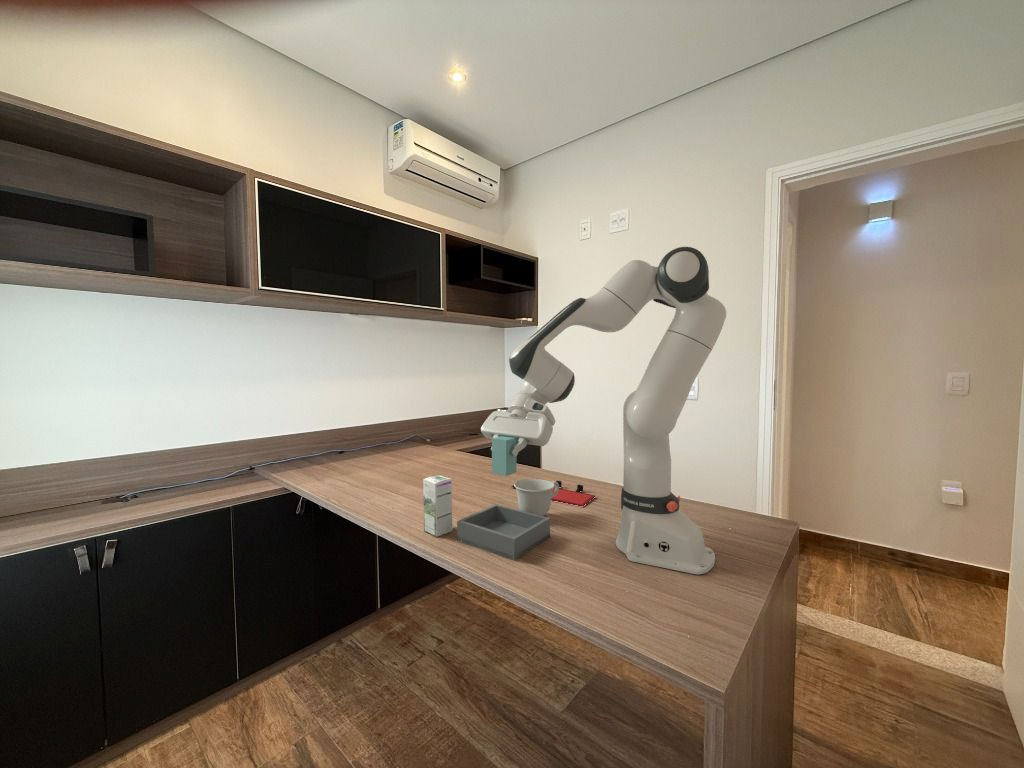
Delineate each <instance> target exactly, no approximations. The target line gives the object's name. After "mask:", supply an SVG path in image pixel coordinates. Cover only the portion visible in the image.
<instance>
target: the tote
mask: <svg viewBox="0 0 1024 768" xmlns="http://www.w3.org/2000/svg"><path fill="white" fill-rule="evenodd" d="M549 538H551V518H550V517H548V516H545V515H544V516H540V515H536V514H532V513H529V512H525V511H521V510H520V509H516V508H513V507H509V506H505V505H503V504H502V505H501V504H497V503H495V504H492V505H490V506H488V507H486V508H484V509H482V510H479V511H477V512H475V513H472V514H470V515H468V516H465V517H464V518H460V519H458V520H456V540H457V541H458V540H459V541H458V542H460V541H462V542H461V543H463V542H464V544H466V543H467V544H466V545H469V546H472V545H473V546H472V547H475V548H477V547H478V549H480V548H481V550H483V549H484V550H483V551H486V552H489V553H491V552H492V554H495V555H498V556H500V557H503V558H506V559H509V560H511V561H516V560H517V559H520V557H522V556H523V555H525V554H526V553H528V552H530V551H531V550H533V549H534V548H536V547H538V545H541V544H542V543H543V542H545V541H547V540H548V539H549Z"/></svg>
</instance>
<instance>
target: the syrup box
mask: <svg viewBox="0 0 1024 768" xmlns="http://www.w3.org/2000/svg"><path fill="white" fill-rule="evenodd" d="M422 483H423V487H422V488H423V489H422V490H423V531H424V532H425V533H427V534H429V535H431V536H433V537H435V538H436V537H437V538H438V537H441V536H444V535H446V534H449V533H451V532H453V479H452V478H449V477H446V476H443V475H439V474H438V475H432V476H428V477H426V478H422ZM448 532H449V533H448ZM443 534H444V535H443Z"/></svg>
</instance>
